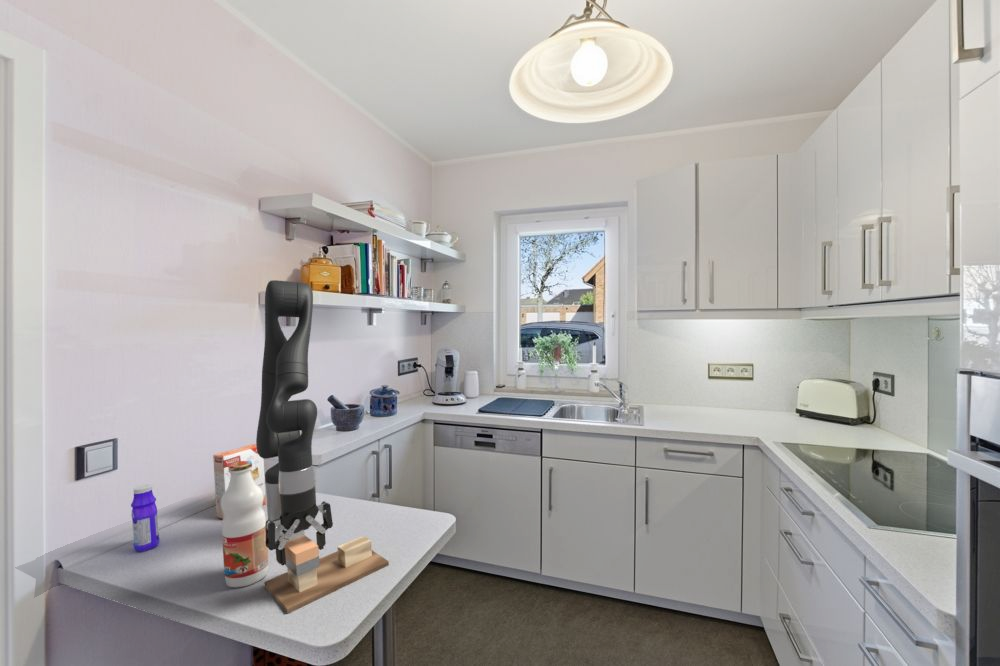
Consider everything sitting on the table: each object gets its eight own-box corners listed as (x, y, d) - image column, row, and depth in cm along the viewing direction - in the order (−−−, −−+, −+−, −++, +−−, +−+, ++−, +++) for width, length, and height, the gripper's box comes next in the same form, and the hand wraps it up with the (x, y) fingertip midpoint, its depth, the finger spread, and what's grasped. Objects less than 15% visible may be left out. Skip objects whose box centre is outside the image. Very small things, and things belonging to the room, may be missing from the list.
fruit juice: (275, 574, 108) (268, 461, 107) (233, 593, 100) (225, 472, 100) (260, 562, 114) (253, 455, 113) (219, 579, 107) (211, 465, 106)
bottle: (132, 547, 126) (127, 487, 126) (156, 539, 130) (152, 481, 130) (136, 555, 121) (131, 493, 121) (161, 546, 125) (157, 486, 125)
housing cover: (283, 553, 103) (282, 542, 103) (305, 545, 106) (304, 534, 106) (296, 565, 97) (295, 554, 97) (318, 556, 101) (318, 545, 100)
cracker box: (227, 521, 141) (222, 456, 140) (215, 518, 143) (211, 454, 143) (267, 503, 153) (263, 444, 153) (256, 501, 156) (252, 443, 155)
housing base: (284, 563, 103) (283, 553, 103) (305, 555, 106) (305, 545, 106) (297, 576, 97) (296, 565, 97) (319, 566, 101) (318, 556, 101)
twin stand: (264, 586, 103) (263, 565, 103) (359, 545, 120) (358, 527, 120) (287, 613, 92) (286, 590, 92) (388, 565, 109) (387, 545, 109)
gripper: (321, 474, 109) (325, 539, 109) (258, 492, 99) (263, 563, 99) (334, 481, 104) (338, 548, 104) (269, 500, 94) (274, 575, 94)
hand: (302, 556), depth 102 cm, fingers open, 8 cm apart
